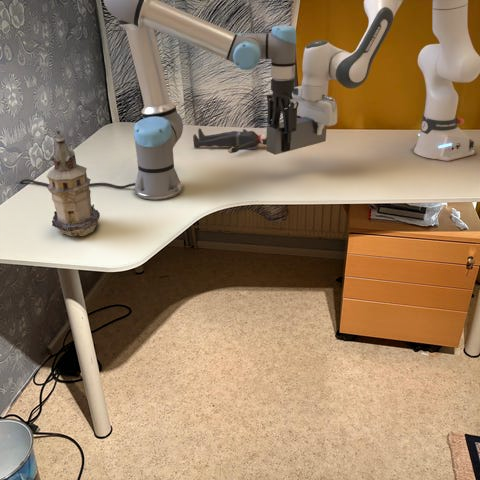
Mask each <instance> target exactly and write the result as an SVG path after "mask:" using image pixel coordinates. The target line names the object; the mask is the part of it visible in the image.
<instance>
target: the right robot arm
mask: <svg viewBox="0 0 480 480" xmlns="http://www.w3.org/2000/svg"><path fill="white" fill-rule="evenodd" d="M403 2H404V0H363V10H364V12H365V15H366V16H367V18H368V25H367V28H366V31H365V32H364V34H363V36H362V38H361V40H360V41H359V43H358V45H357V47H356V49H355V50H354V51H353V52H350V51H347V50H345V49H341V48H339V47H337V46H334V45H333V44H331V43H330V42H329V41H328V40H324V39H320V40H314V41H310V42H309V43H308V44H306V45H305V47H304V50H303V56H302V66H301V70H302V74H303V75H302V80H301V85H298V86H294V91H293V92H292V97H293V100H294V101H295V102H298V103H299V105H298V108H297V117H299V118H302V117H307V118H310V119H313V120H314V121H315V122H318V126H319V127H318V129H315V134H317V135H321V134H322V129H323V128H324V126H325V125H326V126H327V127H332V126H335V125H336V124H337V123H338V107H337V106H338V105H337V101H336V100H335V98H334V97H333V96H328V94H329V82H330V80H333V81H336V82H338V83H339V84H340V85H341V86H343V87H344V88H346V89H356V88H359V87H360V86H362V85H363V84H364V83H365V82H366V80H367V79H368V77H369V74H370V71H371V67H372V65H373V61H374V59H375V57H376V56H377V53H378V52H379V50H380V48H381V46H382V45H383V43H384V41H385V39H386V37H387V35H388V33H389V31H390V29H391V27H392V25H393V22H394V18H395V15H396V13H397V12H398V9H400V6H402V3H403ZM468 7H469V0H432V11H431V12H432V15H431V16H432V17H431V18H432V21H431V24H432V27H431V29H432V33H433V35H434V36H435V37H436V38H437V40H438V42H439V43H432V44H426V45H425V46H424V47H423V48H422V49H420V52H419V54H418V55H417V56H418V57H417V65H418V67H419V69H420V71H421V73H422V75H423V78H424V83H425V90H426V91H425V93H426V95H425V104H424V105H425V106H424V111H423V114H422V118H421V121H420V133H418V134H417V135H418V140H417V142H416V145H415V147H414V149H413V152H414V153H415V154H416V155H417V156H419V157H423V158H426V159H433V160H441V161H445V162H450V161H454V160H458V159H462V158H465V157H469V156H473V155H475V152H476V151H475V149H473V148H474V144H475V141H473V140H472V139H471V138H470V137H469V135H468V134H466V132H465V131H463V130H462V129H461V128H460V127H459V125H464V123H465V119H464V118H461V117H457V116H456V114H457V109H458V104H459V94H458V92H457V91H456V89H455V86H454V84H453V82H454V83H463V84H464V83H471V82H473V81H474V80H476V79H477V78H478V76H479V75H480V55H479V54H478V52H477V51H476V50H475V48H474V46H473V43H472V39H471V37H470V33H469V28H468V14H469V13H468ZM458 124H459V125H458Z"/></svg>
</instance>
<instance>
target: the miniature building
mask: <svg viewBox="0 0 480 480" xmlns="http://www.w3.org/2000/svg"><path fill="white" fill-rule="evenodd" d="M56 134H57V136H56V138H55V140H54V141H55V142H56V147H55V154H54V156H52V157H51V161H52V162H53V165H54V167H53V168H51V169H50V170H49V171H48V173H47V174H46V178H47V179H48V182H49V183H48V184H49V186H47V190H48V191H49V193H50V194H51V200H52V201H53V205H54V209H55V211H53V217H52V220H51V223H52V225H51V227H54V228H56V229H58V230H59V231H60V234H63V235H64V234H65V235H66V236H69V237H77V236H80V237H83V236H87V235H88V234H90V233H93V232H94V231H95V229H96V226H97V225H98V223H99V220H100V216H101V213H100V212H99V210H98V209H96V208H95V204H92V201H91V200H92V199H91V198H92V197H91V192H92V191H91V188H90V186H89V184H91V178H89V177H88V174H87V167H85V166H84V165H83V166H82V165H80V164H77V160H76V154H75V151H74V150H70V149H69V147H68V145H67V143H66V138H65V137H64V136H63V135H61V130H60V129H56Z"/></svg>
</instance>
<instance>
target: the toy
mask: <svg viewBox="0 0 480 480" xmlns="http://www.w3.org/2000/svg"><path fill="white" fill-rule="evenodd" d="M202 130H203V129H201V128H198V130H197V134H198V136H197V134H193V136H192V141H193V147H194V148H195V149H198V148H201V147H210V148H211V147H228V148H229V149H227V153H229V154H230V155H231V154H234V153H238V152H239V151H242V150H245V149H248V150H254V149H257V148H258V146H259V144H260V145H264V146H266V142H267V134H259V135H258V134H257V133H256V132H255V131H254V130H247V129H245V128H241V129H240V131H239V130H238V131H237V130H234V131H225V132H220V133H215V134H208V135H205V133H204V132H203V131H202Z"/></svg>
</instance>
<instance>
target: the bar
mask: <svg viewBox="0 0 480 480" xmlns="http://www.w3.org/2000/svg"><path fill="white" fill-rule="evenodd" d="M318 127H319V126H318V122H315V121H314V120H313V119H310V118H307V117H302V118H301V117H297V127H296V131H295V132H292V134H291V142H290V151H289V152H291V151H295V150H298V149H301V148H305V147H309V146H312V145H313V146H314V145H317V144H320V143H324V142H326V140H327V128H328V126H326V125H325V126H324V128H323V129H322V134H321V135H317V134H315V129H318ZM283 132H285V130H284V122H283V121H279V123H276V124H272V125H270V124H269V125H268V124H267V125H266V135H267V142H266V145H265V146H266V147H265V148H266V149H265V150H266V152H267V153H270V154H272V155H280V154H283V153H287V152H288V151H286V152H282V147H283Z"/></svg>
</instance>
